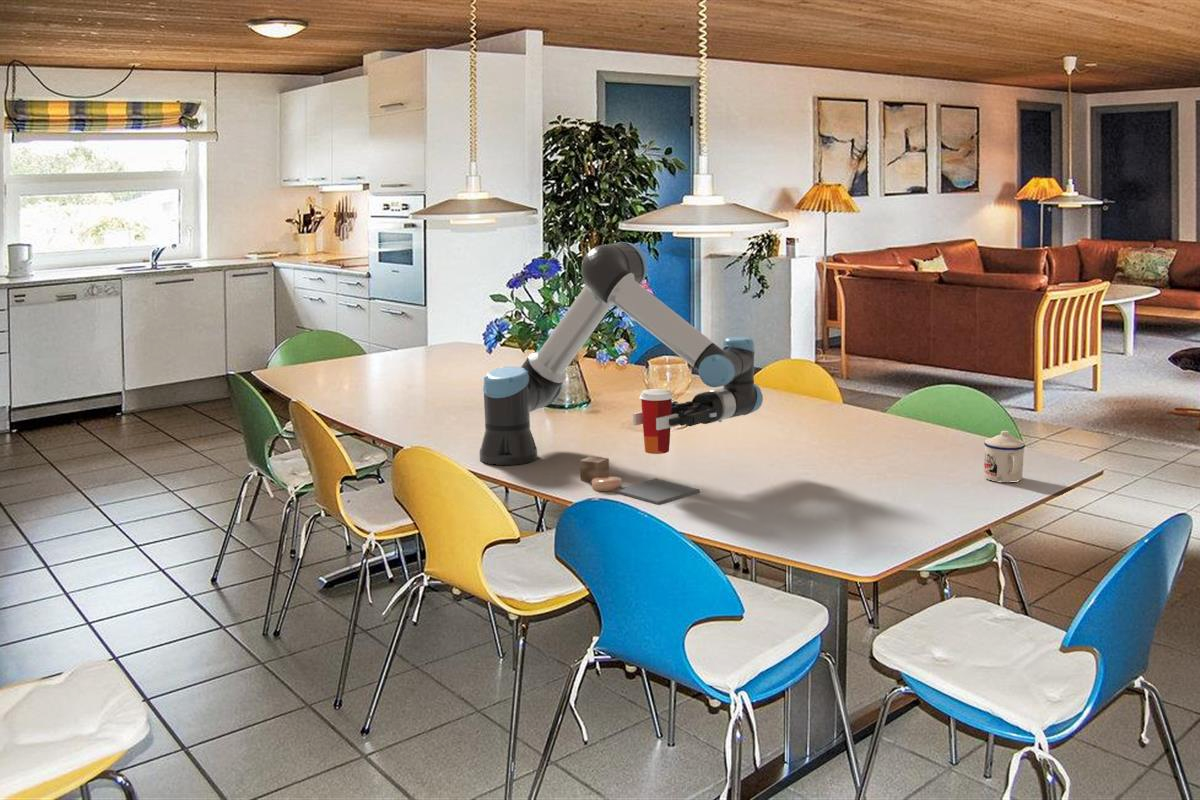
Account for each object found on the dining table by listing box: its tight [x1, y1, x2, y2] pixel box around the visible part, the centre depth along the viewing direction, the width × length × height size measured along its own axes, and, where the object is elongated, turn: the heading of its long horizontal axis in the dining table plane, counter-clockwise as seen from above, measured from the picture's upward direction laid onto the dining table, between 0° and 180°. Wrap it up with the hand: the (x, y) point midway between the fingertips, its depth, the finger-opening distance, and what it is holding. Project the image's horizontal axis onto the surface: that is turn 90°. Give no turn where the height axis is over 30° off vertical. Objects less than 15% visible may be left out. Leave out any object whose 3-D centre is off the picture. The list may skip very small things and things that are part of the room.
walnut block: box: [579, 455, 610, 483], centre depth 273 cm, size 5×5×5 cm
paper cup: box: [638, 388, 674, 455], centre depth 258 cm, size 8×8×14 cm
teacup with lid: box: [983, 430, 1026, 482], centre depth 265 cm, size 12×9×12 cm
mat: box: [613, 477, 700, 505], centre depth 262 cm, size 14×14×1 cm
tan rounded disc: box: [591, 476, 623, 492], centre depth 266 cm, size 7×7×2 cm
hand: (645, 421), depth 256 cm, fingers closed on paper cup, 7 cm apart
